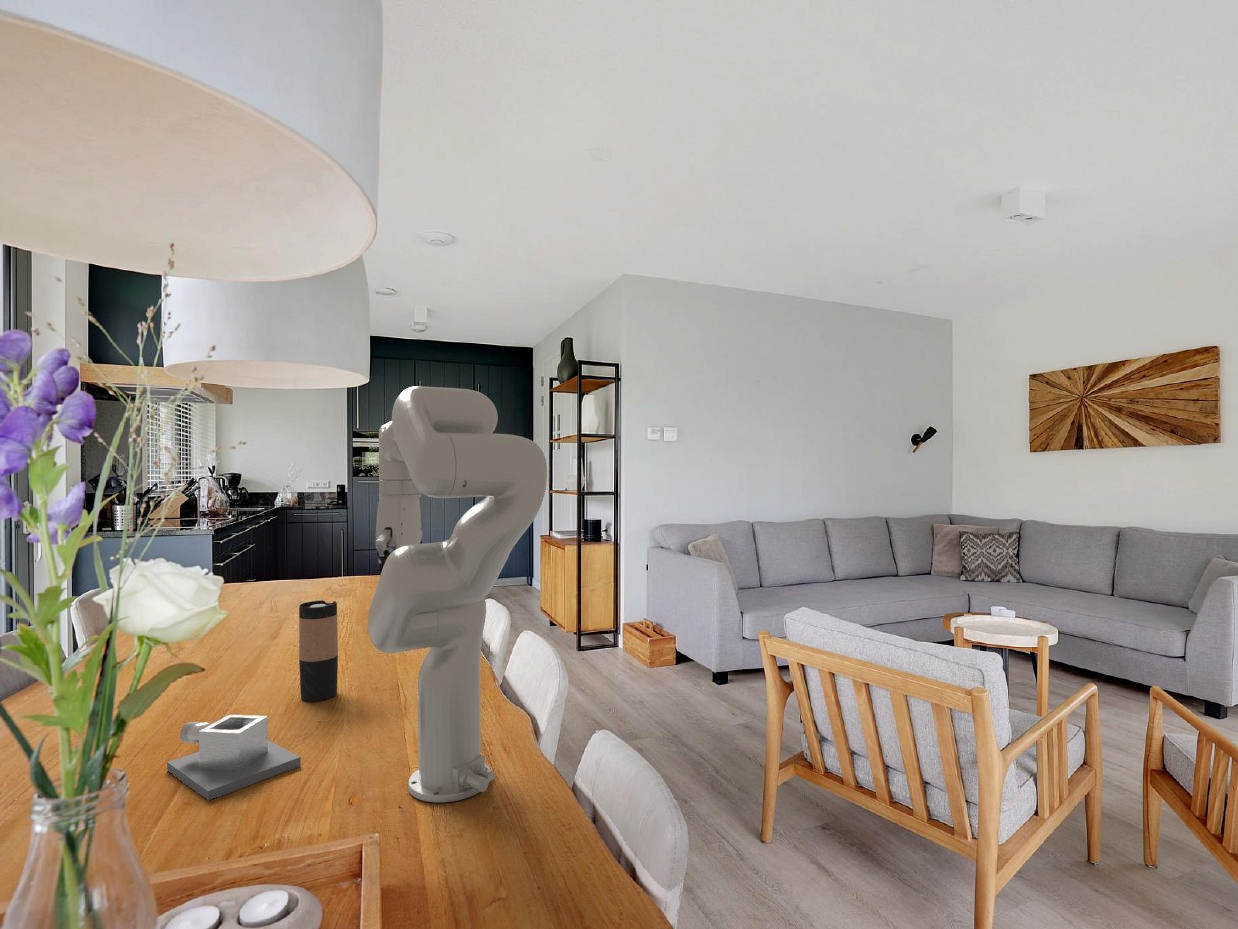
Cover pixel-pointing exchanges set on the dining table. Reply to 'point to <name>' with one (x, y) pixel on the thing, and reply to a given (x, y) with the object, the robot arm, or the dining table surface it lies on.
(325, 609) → the travel mug
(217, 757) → the grey hollow block
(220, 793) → the plate
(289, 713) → the dining table surface
